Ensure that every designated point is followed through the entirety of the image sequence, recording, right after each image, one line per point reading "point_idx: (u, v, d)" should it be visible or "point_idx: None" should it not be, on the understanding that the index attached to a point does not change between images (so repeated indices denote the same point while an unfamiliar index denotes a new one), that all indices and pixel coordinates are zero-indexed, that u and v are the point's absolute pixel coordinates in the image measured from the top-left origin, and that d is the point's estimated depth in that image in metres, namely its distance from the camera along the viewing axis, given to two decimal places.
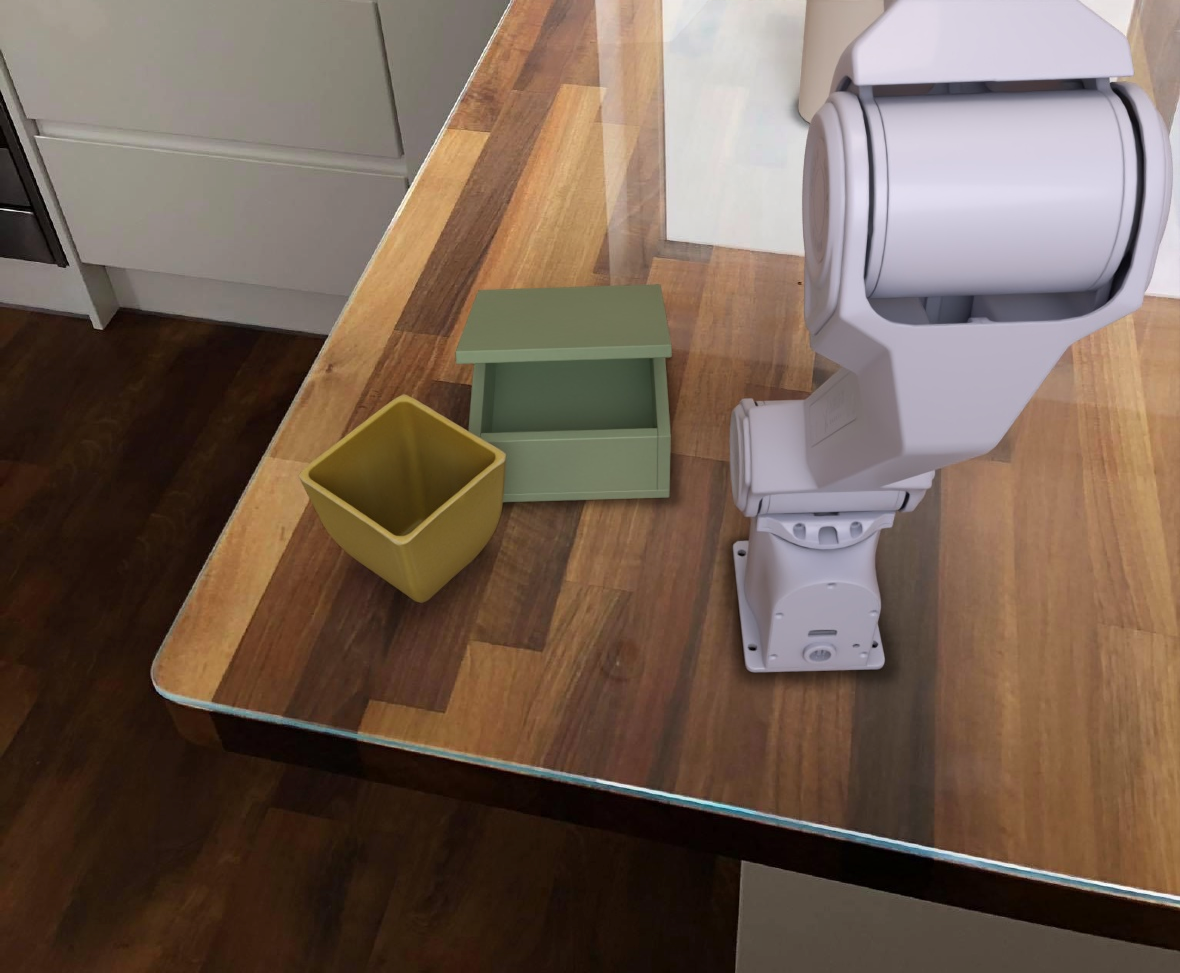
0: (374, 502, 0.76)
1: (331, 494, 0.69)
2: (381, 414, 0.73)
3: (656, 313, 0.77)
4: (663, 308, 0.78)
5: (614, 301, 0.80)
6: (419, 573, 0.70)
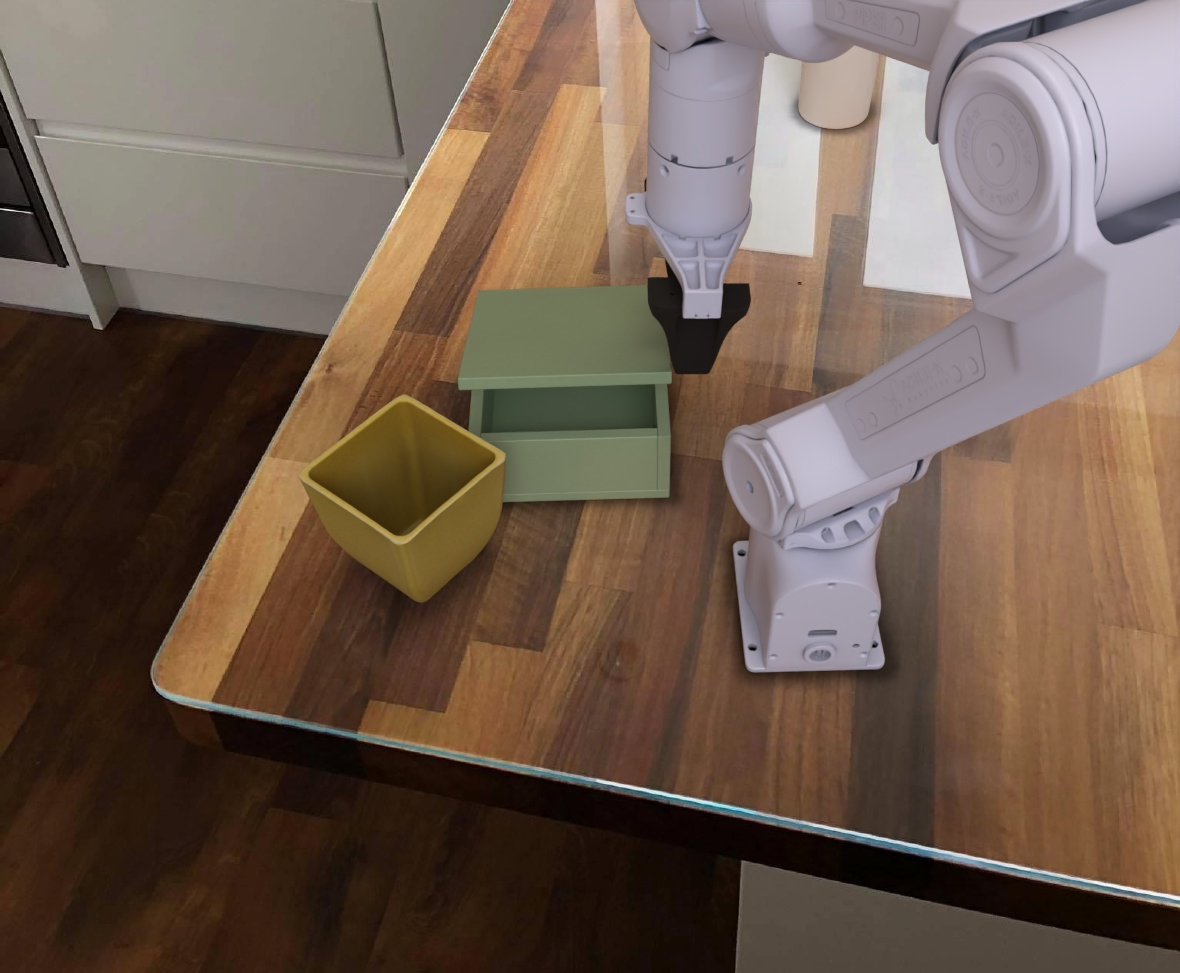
0: (374, 502, 0.76)
1: (331, 494, 0.69)
2: (381, 414, 0.73)
3: (656, 327, 0.77)
4: None
5: (614, 309, 0.80)
6: (419, 573, 0.70)
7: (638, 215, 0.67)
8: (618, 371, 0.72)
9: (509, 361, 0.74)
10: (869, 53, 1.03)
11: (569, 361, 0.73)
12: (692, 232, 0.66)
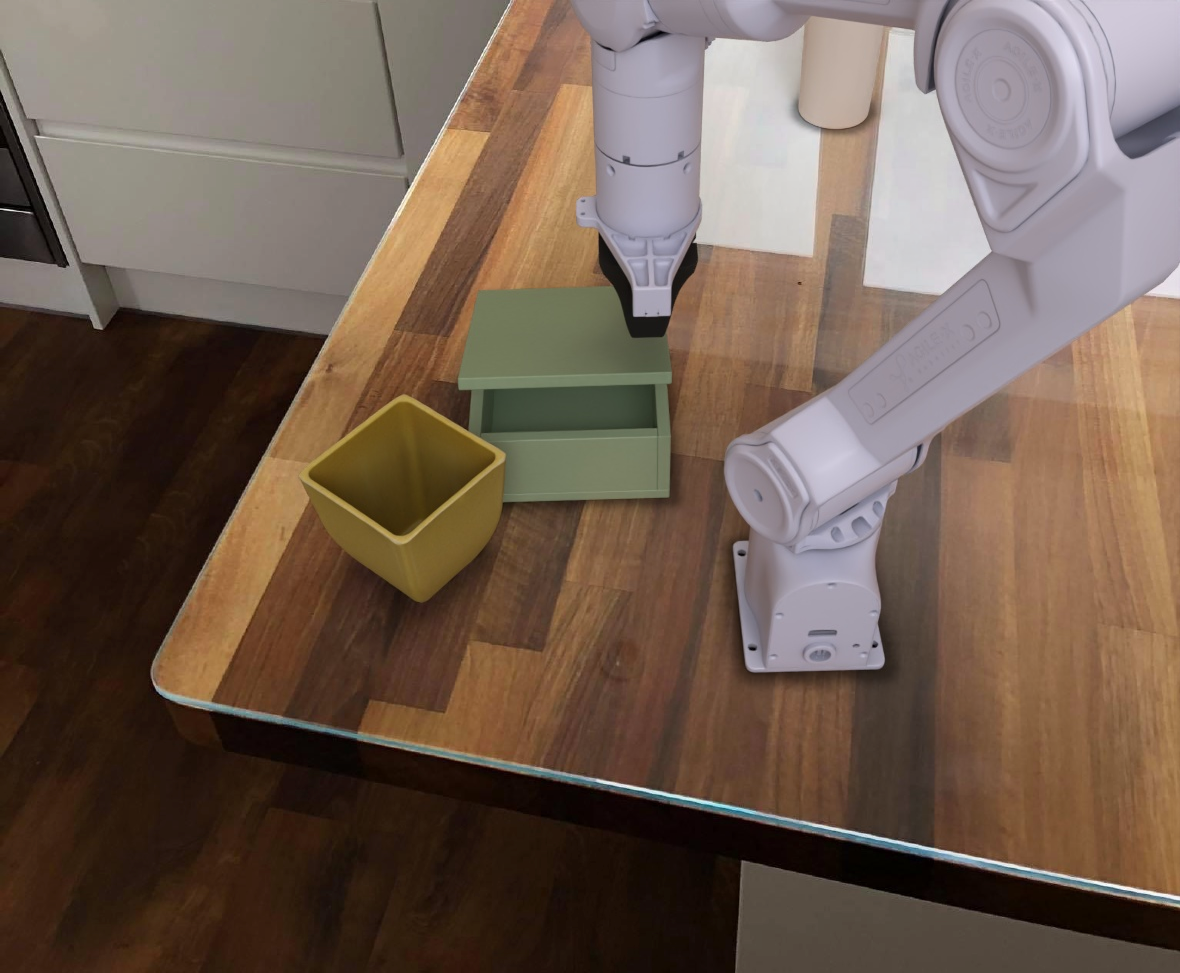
0: (374, 502, 0.76)
1: (331, 494, 0.69)
2: (381, 414, 0.73)
3: None
4: None
5: (614, 309, 0.80)
6: (419, 573, 0.70)
7: (588, 217, 0.68)
8: (618, 371, 0.72)
9: (509, 361, 0.74)
10: (869, 53, 1.03)
11: (569, 361, 0.73)
12: (641, 232, 0.66)
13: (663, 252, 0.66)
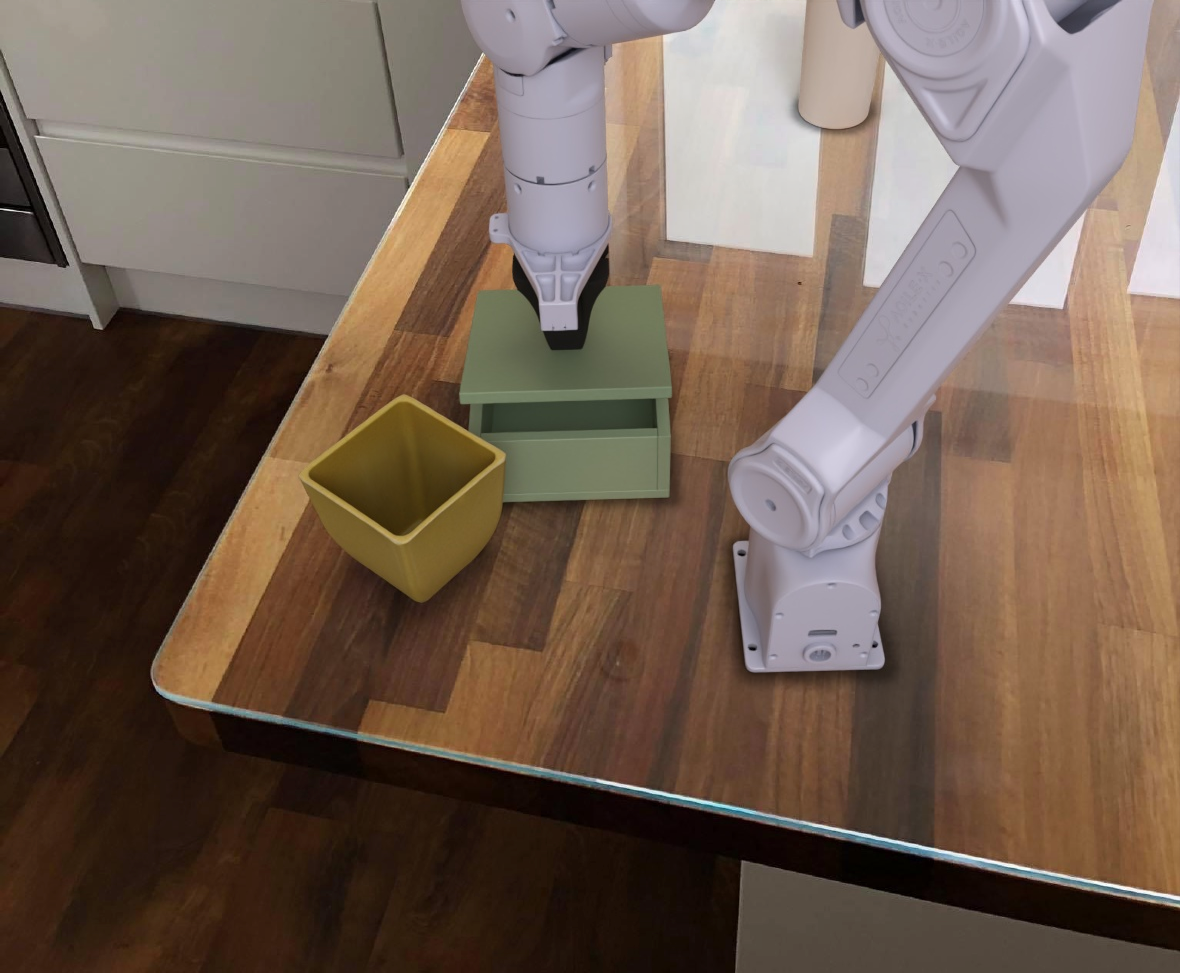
0: (374, 502, 0.76)
1: (331, 494, 0.69)
2: (381, 414, 0.73)
3: (656, 335, 0.78)
4: (663, 326, 0.79)
5: (614, 313, 0.80)
6: (419, 573, 0.70)
7: (501, 234, 0.69)
8: (618, 385, 0.72)
9: (510, 373, 0.74)
10: (869, 53, 1.03)
11: (570, 374, 0.74)
12: (550, 248, 0.68)
13: (572, 267, 0.68)
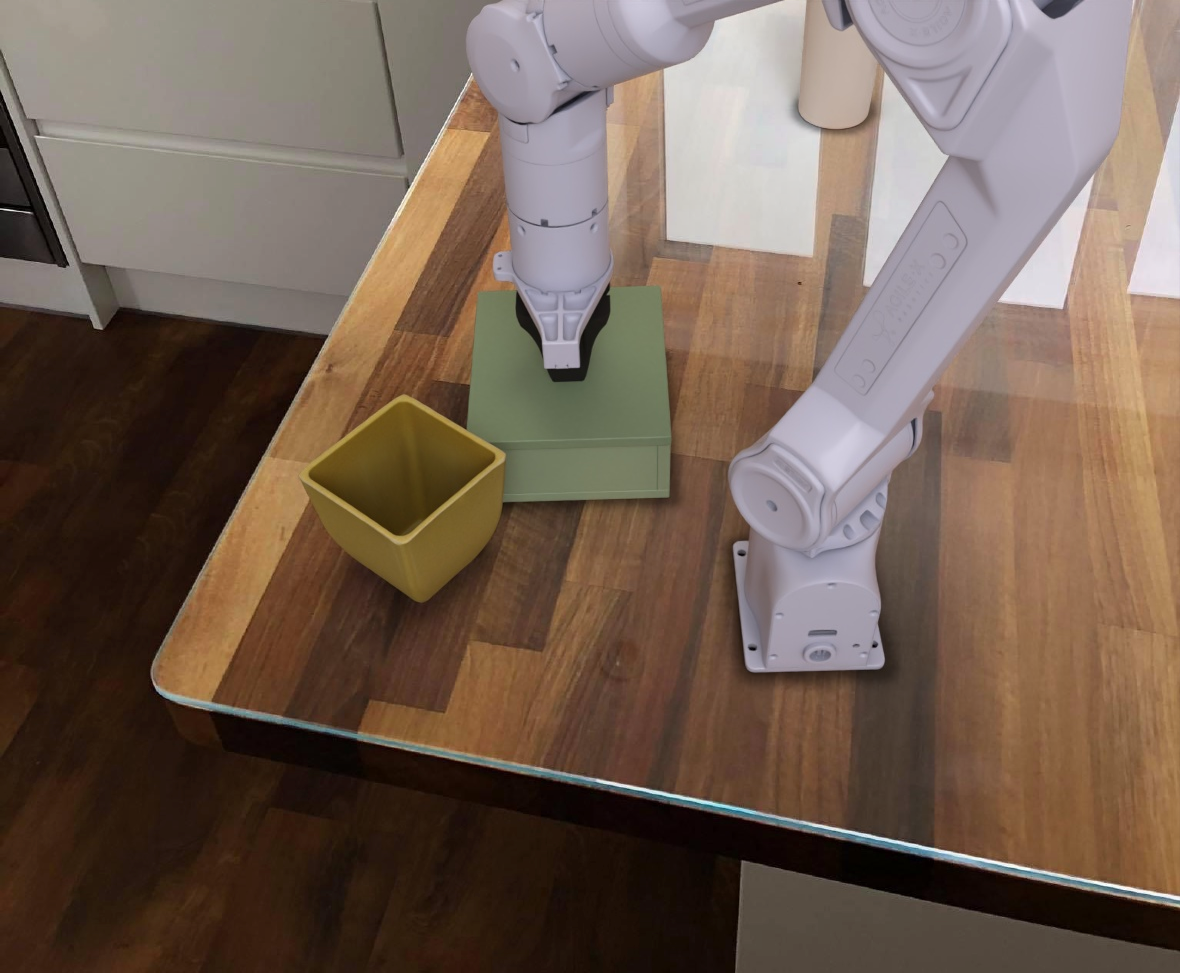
0: (374, 502, 0.76)
1: (331, 494, 0.69)
2: (381, 414, 0.73)
3: (656, 361, 0.79)
4: (663, 348, 0.80)
5: (615, 328, 0.81)
6: (419, 573, 0.70)
7: (504, 272, 0.71)
8: (620, 434, 0.75)
9: (514, 415, 0.76)
10: (869, 53, 1.03)
11: (572, 417, 0.76)
12: (553, 287, 0.69)
13: (574, 306, 0.69)
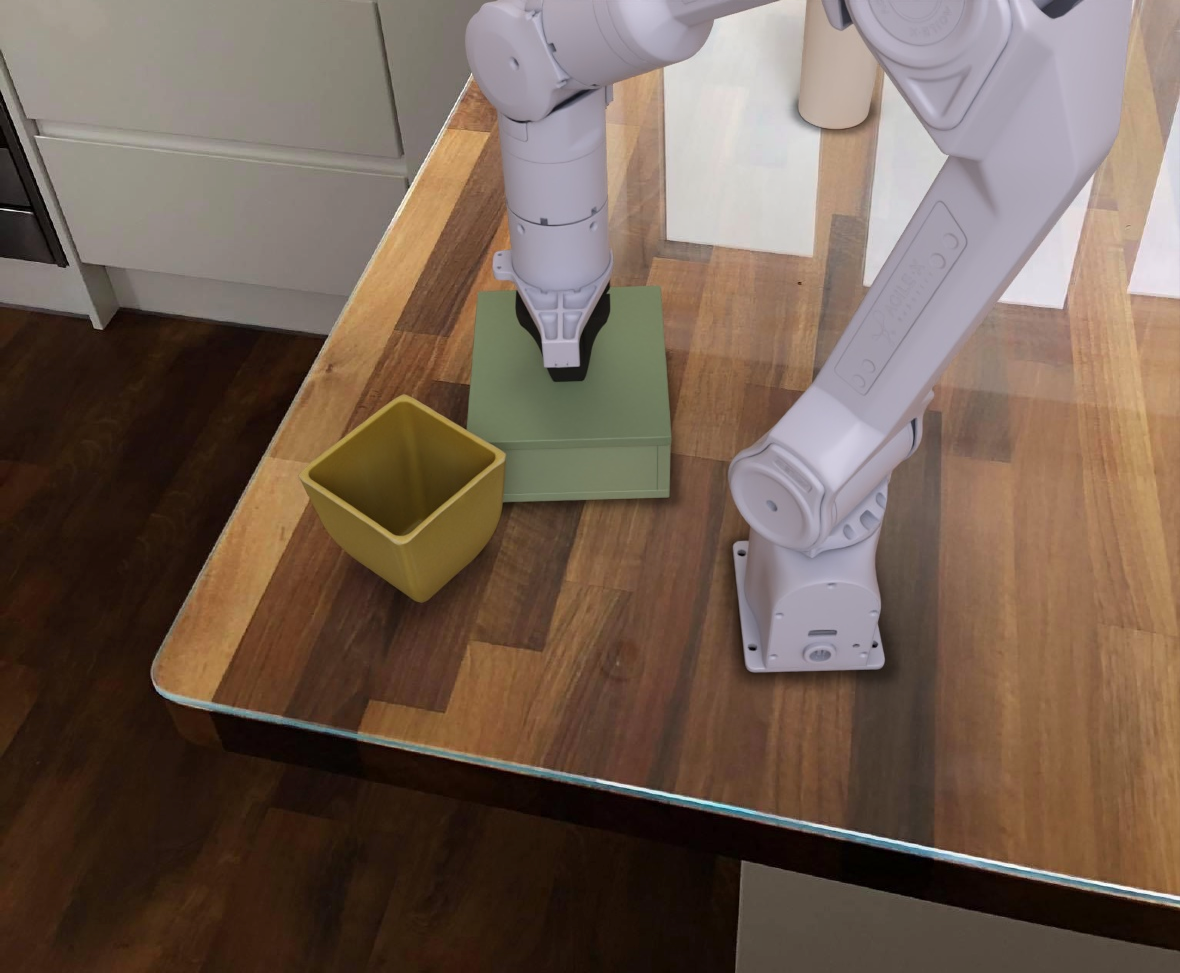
0: (374, 502, 0.76)
1: (331, 494, 0.69)
2: (381, 414, 0.73)
3: (656, 361, 0.79)
4: (663, 348, 0.80)
5: (615, 328, 0.81)
6: (419, 573, 0.70)
7: (504, 271, 0.71)
8: (620, 434, 0.75)
9: (514, 415, 0.76)
10: (869, 53, 1.03)
11: (572, 417, 0.76)
12: (553, 286, 0.69)
13: (574, 305, 0.69)
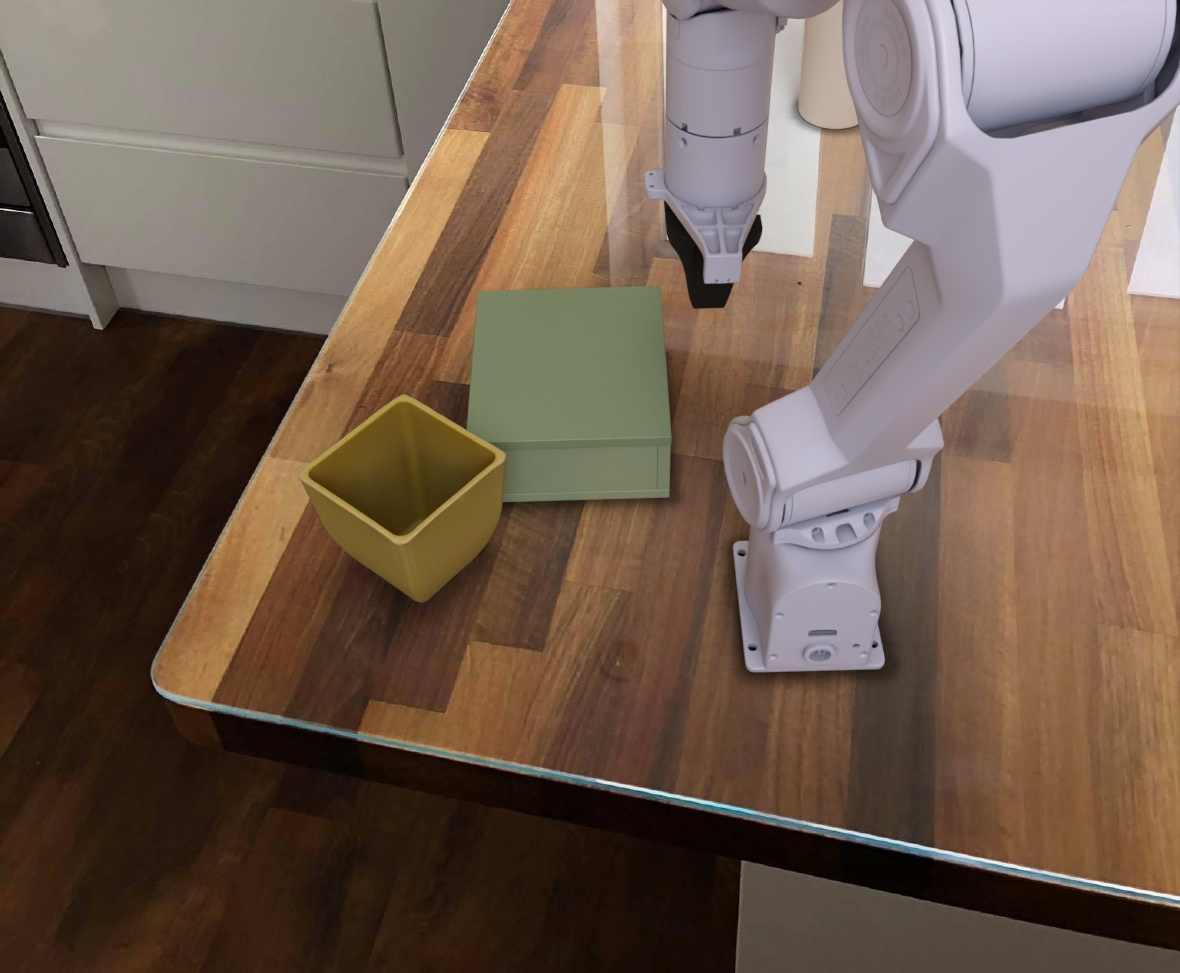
0: (374, 502, 0.76)
1: (331, 494, 0.69)
2: (381, 414, 0.73)
3: (656, 361, 0.79)
4: (663, 348, 0.80)
5: (615, 328, 0.81)
6: (419, 573, 0.70)
7: (657, 189, 0.70)
8: (620, 434, 0.75)
9: (514, 415, 0.76)
10: None
11: (572, 417, 0.76)
12: (710, 202, 0.69)
13: (731, 222, 0.69)
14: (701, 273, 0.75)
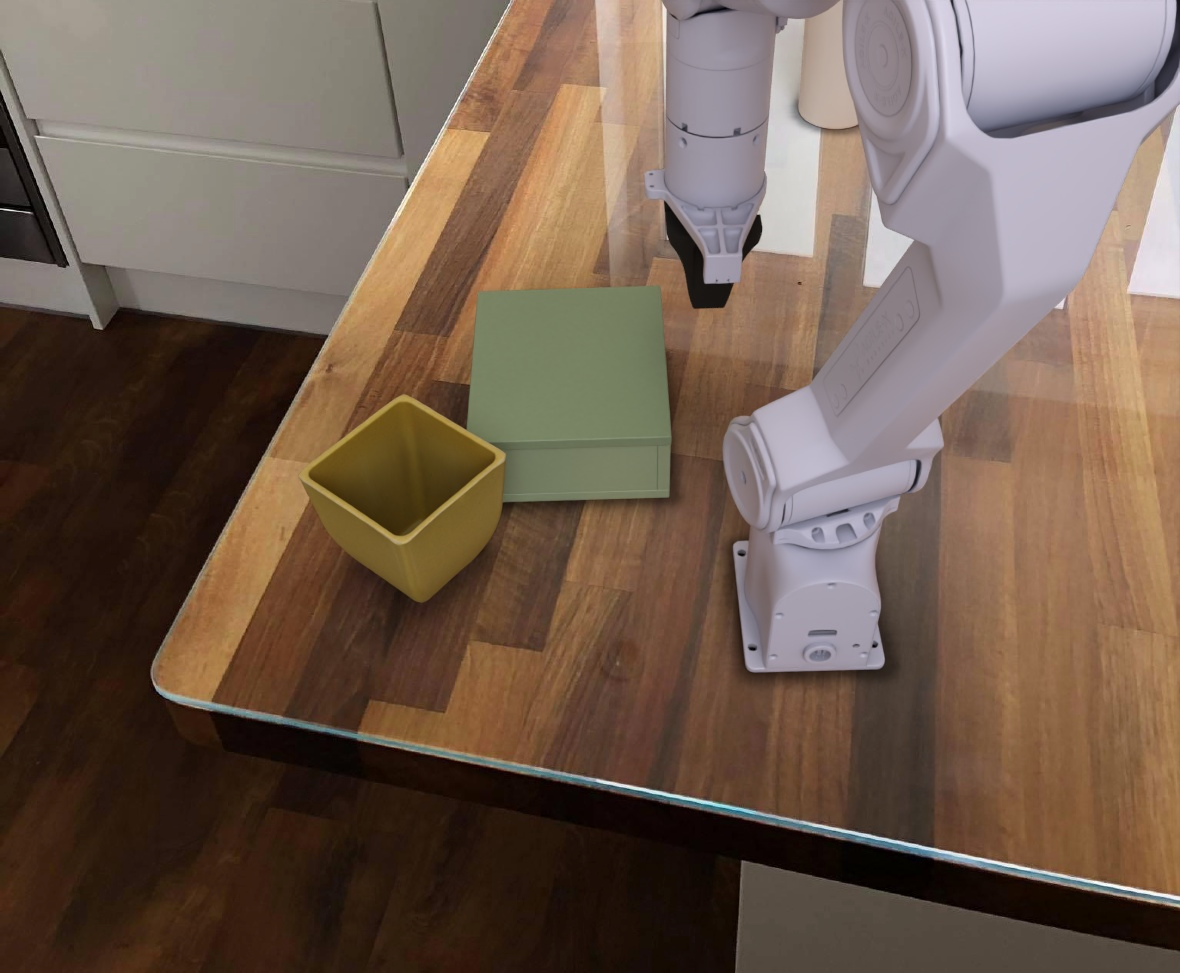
0: (374, 502, 0.76)
1: (331, 494, 0.69)
2: (381, 414, 0.73)
3: (656, 361, 0.79)
4: (663, 348, 0.80)
5: (615, 328, 0.81)
6: (419, 573, 0.70)
7: (657, 189, 0.70)
8: (620, 434, 0.75)
9: (514, 415, 0.76)
10: None
11: (572, 417, 0.76)
12: (710, 202, 0.69)
13: (731, 222, 0.69)
14: (701, 273, 0.75)
